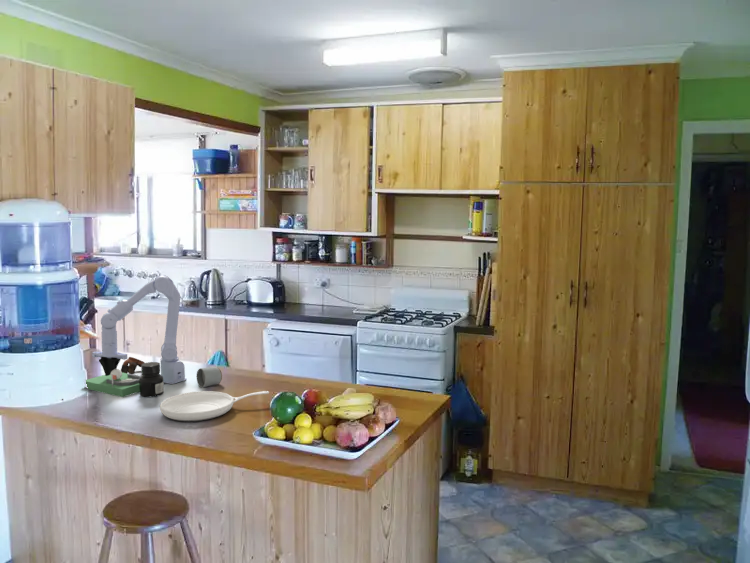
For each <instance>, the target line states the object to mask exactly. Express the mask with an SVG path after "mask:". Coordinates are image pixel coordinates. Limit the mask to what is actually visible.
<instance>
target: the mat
mask: <svg viewBox="0 0 750 563" xmlns="http://www.w3.org/2000/svg"><path fill="white" fill-rule="evenodd" d="M140 377H142V375H138V374H129V373H122V377H121V378H120V379H118V380H114V379H113V382H114V387H112V378H111V376H110V375H108V376H105V374H103V375H99V376H95V377H91V378H88V379H85V380H86V384H87V387H88V389H87V390H90V391H95V392H99V393H102V394H103V393H104V394H108V395H112V396H117V397H119V398H120V397H121V398H124V397H127V396H131V395H134V394H136V393H140V390H139V379H140ZM133 393H134V394H133ZM130 394H131V395H130Z"/></svg>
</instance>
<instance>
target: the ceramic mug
mask: <svg viewBox="0 0 750 563" xmlns="http://www.w3.org/2000/svg"><path fill="white" fill-rule="evenodd" d="M222 380H223V373H222V370H221V369H220V367H217V366H211V367H201V368H198V369H197V371H196V382H197V384H198V386H199V387H200V388H207V387H211V386H215V385H218V384H220V383H221V382H222Z"/></svg>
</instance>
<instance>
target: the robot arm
mask: <svg viewBox="0 0 750 563" xmlns="http://www.w3.org/2000/svg"><path fill="white" fill-rule="evenodd" d="M156 292H158V293H161V294H163V295H164V296H165V298H167V300H168V304H167V305H168V306H167V314H166V324H165V334H164V342H163V344H162V345H161V348H160V352H161V353H160V355H161V358H160V362H159V363H160V375H162V376H163V382H164V383H165V384H168V385H169V384H170V385H175V384H176V383H180V382H183V381H187V378H186V372H185V371H186V370H185V364H184V362H183V361H180V359H179V356H178V347H177V335H178V334H177V333H178V332H177V331H178V324H179V314H180V303H181V293H180V292H179V290H178V288H177V287H176V285H175V283H174V282H173V280H172V279H171V278H170V277H168V276H167V275H165V274H159V275H157V276H156V277H155V278H153V279H151V280H150V281H148V282H146V283H145V284H144V285H143V286H142V287H141V288H140V289H139V290H137V291H136V292H135V293H134V294H133V295H131V297H129V298H128V299H122V300H118V301H117V302H116V305H114V306H113V307H112V308H111V309H108V310H107V312H106V313H104V314H103V315H102V317H101V318H100V325H101V351H93V352H91V356H92V358H99V359H98V362H99V364H100V366H101V367H102V369H103V371H104V375H105V376H108V375H110V373H111V371H112V370H114V369H118V368H117V367H118V366H119V363H120V362H121V360H124V361H126V360H127V359H128V353H123V352H118V331H117V323H118V321H121V320H123V319H124V318H125V317H126V316H127V315H129V314H130V313H131V312H133V310H134V309H133V308H134V306H135V305H136V304H137V303H139V302H140V301H141V300H142V299H144V298H145V297H146V296H147V295H149V294H155V293H156Z"/></svg>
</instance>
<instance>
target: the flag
mask: <svg viewBox="0 0 750 563" xmlns="http://www.w3.org/2000/svg"><path fill="white" fill-rule="evenodd" d="M111 376H112V387H114V382H113V379H115V380H117V376H116V375H113V374H111Z"/></svg>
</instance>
